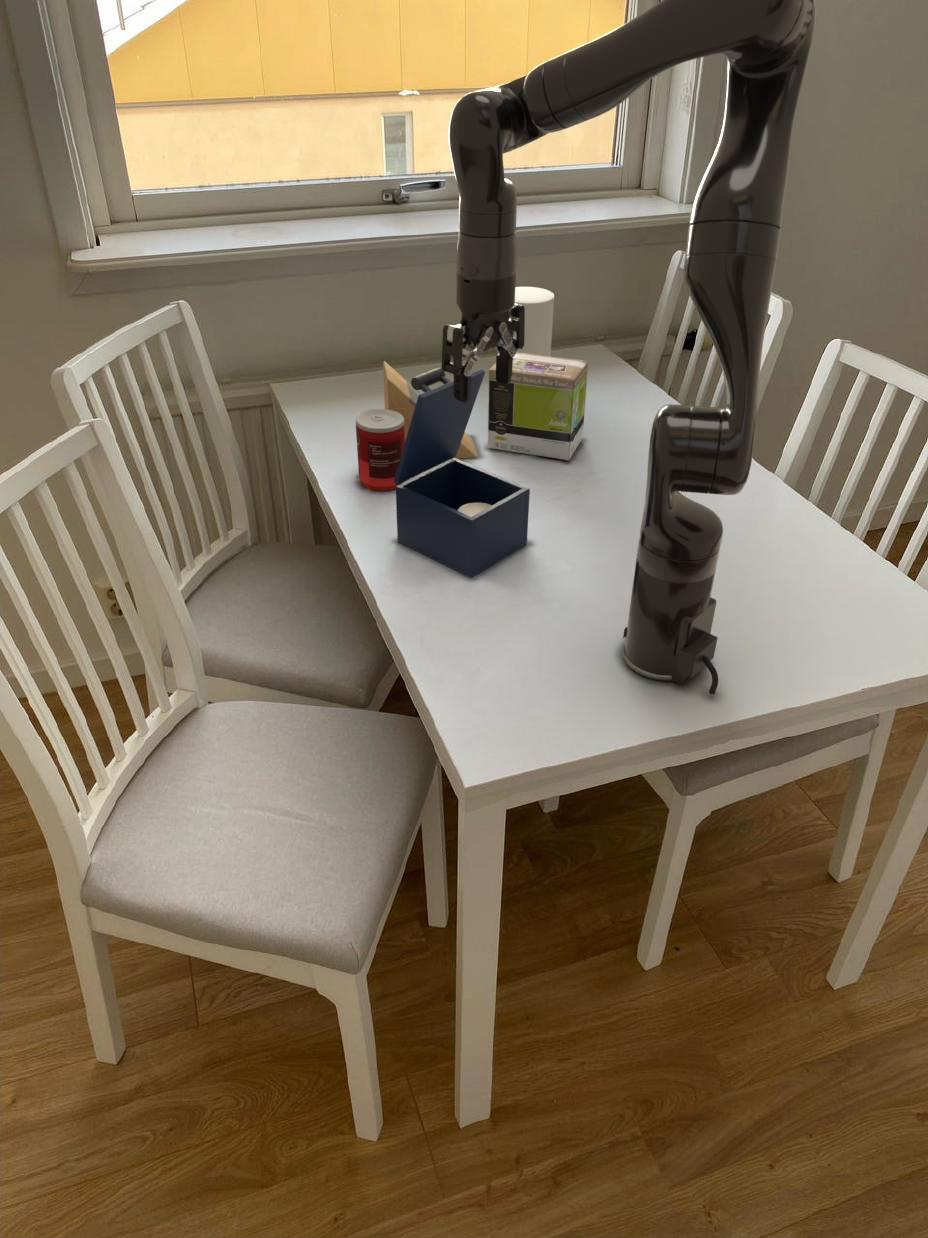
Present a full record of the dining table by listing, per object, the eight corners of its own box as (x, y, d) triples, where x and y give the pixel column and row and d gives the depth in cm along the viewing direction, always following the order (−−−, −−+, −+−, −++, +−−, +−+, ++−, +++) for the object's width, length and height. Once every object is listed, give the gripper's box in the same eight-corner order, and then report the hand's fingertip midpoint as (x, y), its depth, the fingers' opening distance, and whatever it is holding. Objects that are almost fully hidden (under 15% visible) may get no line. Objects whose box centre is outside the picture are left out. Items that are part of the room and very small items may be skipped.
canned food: (381, 465, 164) (378, 404, 157) (416, 479, 160) (414, 417, 153) (348, 481, 159) (344, 419, 153) (384, 496, 155) (381, 433, 148)
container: (488, 391, 190) (490, 289, 179) (532, 384, 194) (538, 282, 182) (511, 410, 183) (515, 304, 171) (557, 402, 186) (564, 298, 175)
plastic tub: (505, 545, 141) (506, 511, 138) (479, 560, 138) (479, 526, 135) (475, 531, 145) (475, 498, 141) (448, 546, 141) (448, 512, 138)
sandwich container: (478, 457, 166) (480, 374, 158) (390, 463, 165) (387, 378, 156) (471, 436, 173) (472, 355, 165) (386, 441, 171) (382, 359, 163)
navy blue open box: (527, 544, 143) (530, 488, 138) (471, 578, 136) (471, 520, 130) (454, 511, 151) (454, 457, 146) (397, 542, 143) (395, 486, 138)
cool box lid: (485, 371, 134) (458, 349, 136) (422, 398, 126) (394, 374, 128) (456, 456, 145) (431, 435, 147) (397, 485, 138) (371, 462, 139)
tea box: (583, 439, 173) (590, 359, 164) (568, 462, 165) (575, 380, 157) (503, 426, 177) (506, 348, 168) (485, 449, 169) (487, 367, 161)
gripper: (499, 252, 128) (495, 370, 137) (425, 274, 119) (427, 399, 128) (544, 262, 124) (537, 384, 133) (472, 286, 115) (470, 414, 124)
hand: (483, 391), depth 131 cm, fingers open, 8 cm apart
